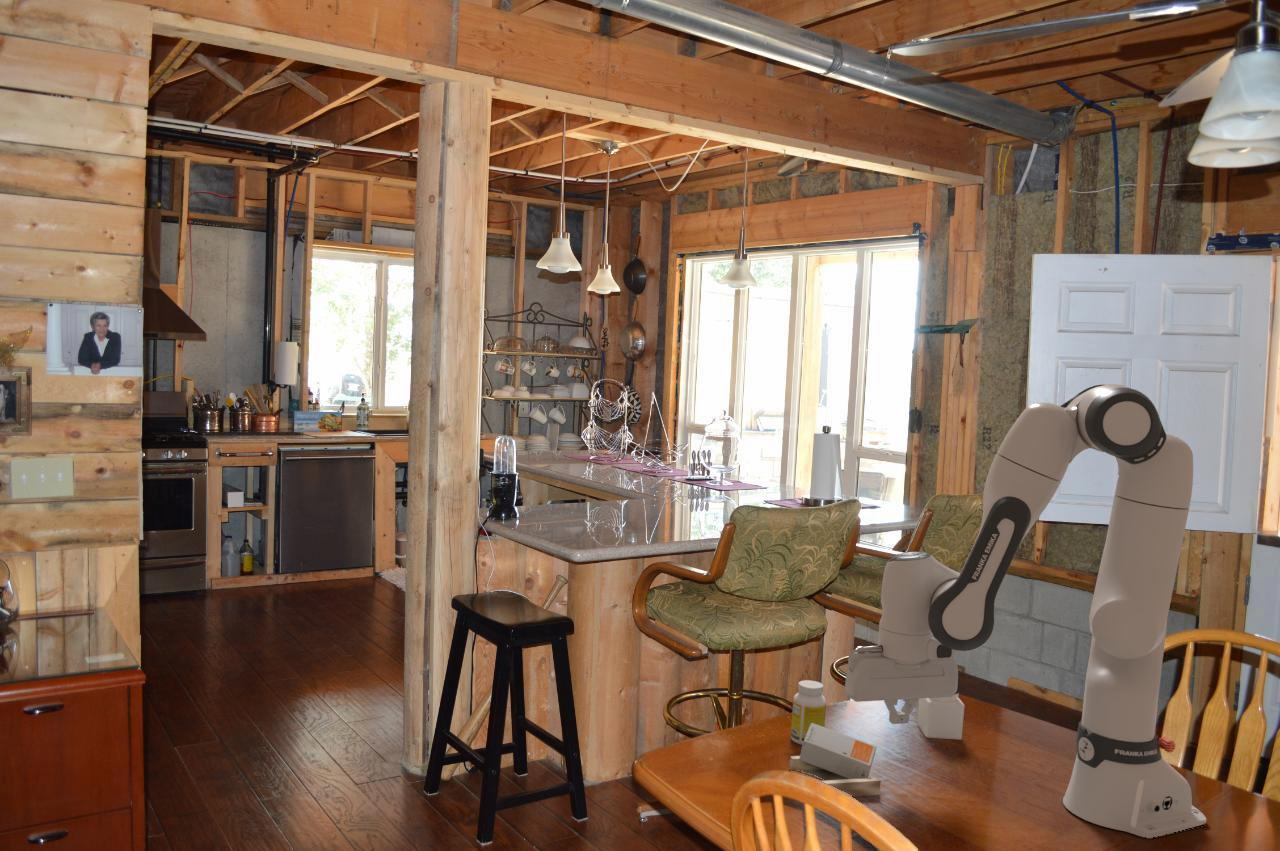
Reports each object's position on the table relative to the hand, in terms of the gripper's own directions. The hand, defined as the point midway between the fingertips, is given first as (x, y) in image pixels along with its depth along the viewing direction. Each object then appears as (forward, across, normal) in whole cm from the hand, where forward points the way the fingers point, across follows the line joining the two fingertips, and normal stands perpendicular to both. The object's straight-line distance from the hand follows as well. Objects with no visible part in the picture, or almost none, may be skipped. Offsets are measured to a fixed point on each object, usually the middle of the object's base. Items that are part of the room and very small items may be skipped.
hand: (898, 722), depth 178 cm
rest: (+10, -12, 0) cm, 15 cm away
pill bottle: (+10, -8, +18) cm, 23 cm away
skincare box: (+7, -5, 0) cm, 9 cm away
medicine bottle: (+10, +20, +19) cm, 30 cm away
